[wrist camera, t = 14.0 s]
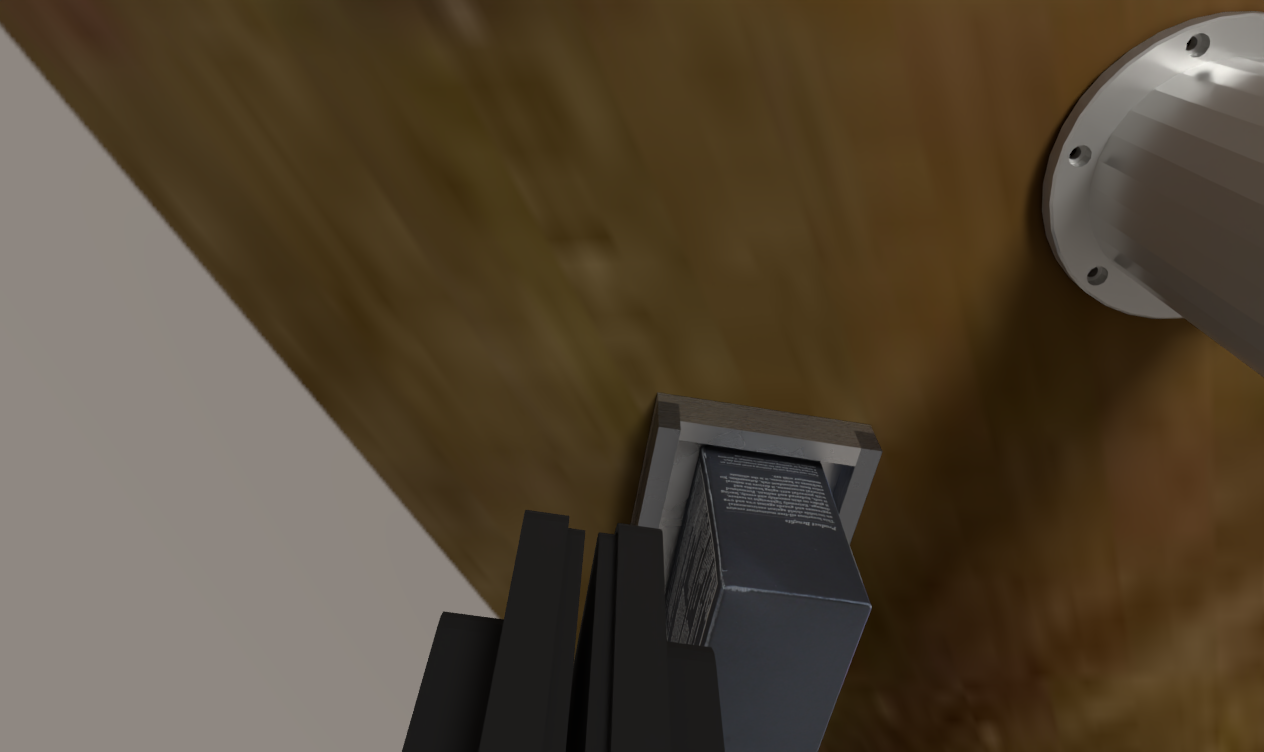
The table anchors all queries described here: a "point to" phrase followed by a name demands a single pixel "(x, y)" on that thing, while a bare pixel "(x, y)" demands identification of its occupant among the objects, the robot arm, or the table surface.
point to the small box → (767, 595)
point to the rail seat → (709, 423)
